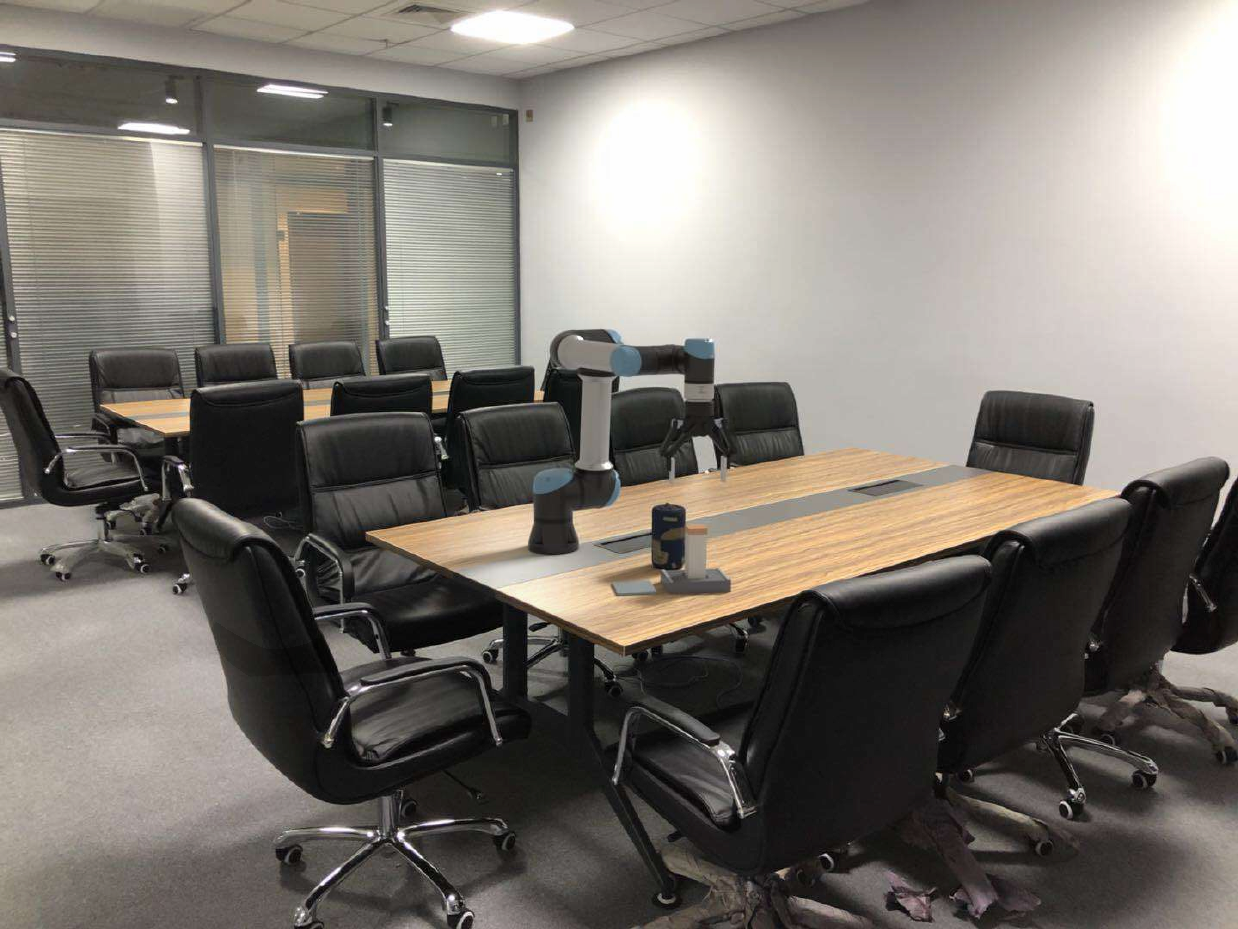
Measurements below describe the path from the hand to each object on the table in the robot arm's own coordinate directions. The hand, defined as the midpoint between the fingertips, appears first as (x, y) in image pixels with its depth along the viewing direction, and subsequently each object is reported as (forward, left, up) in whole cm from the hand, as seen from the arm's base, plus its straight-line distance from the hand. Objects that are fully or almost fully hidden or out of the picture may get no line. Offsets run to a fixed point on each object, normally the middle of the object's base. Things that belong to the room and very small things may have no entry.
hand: (697, 482), depth 248 cm
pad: (-17, -1, -27) cm, 32 cm away
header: (-1, -1, -27) cm, 27 cm away
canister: (-4, +19, -27) cm, 33 cm away
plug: (-1, -1, -27) cm, 27 cm away
